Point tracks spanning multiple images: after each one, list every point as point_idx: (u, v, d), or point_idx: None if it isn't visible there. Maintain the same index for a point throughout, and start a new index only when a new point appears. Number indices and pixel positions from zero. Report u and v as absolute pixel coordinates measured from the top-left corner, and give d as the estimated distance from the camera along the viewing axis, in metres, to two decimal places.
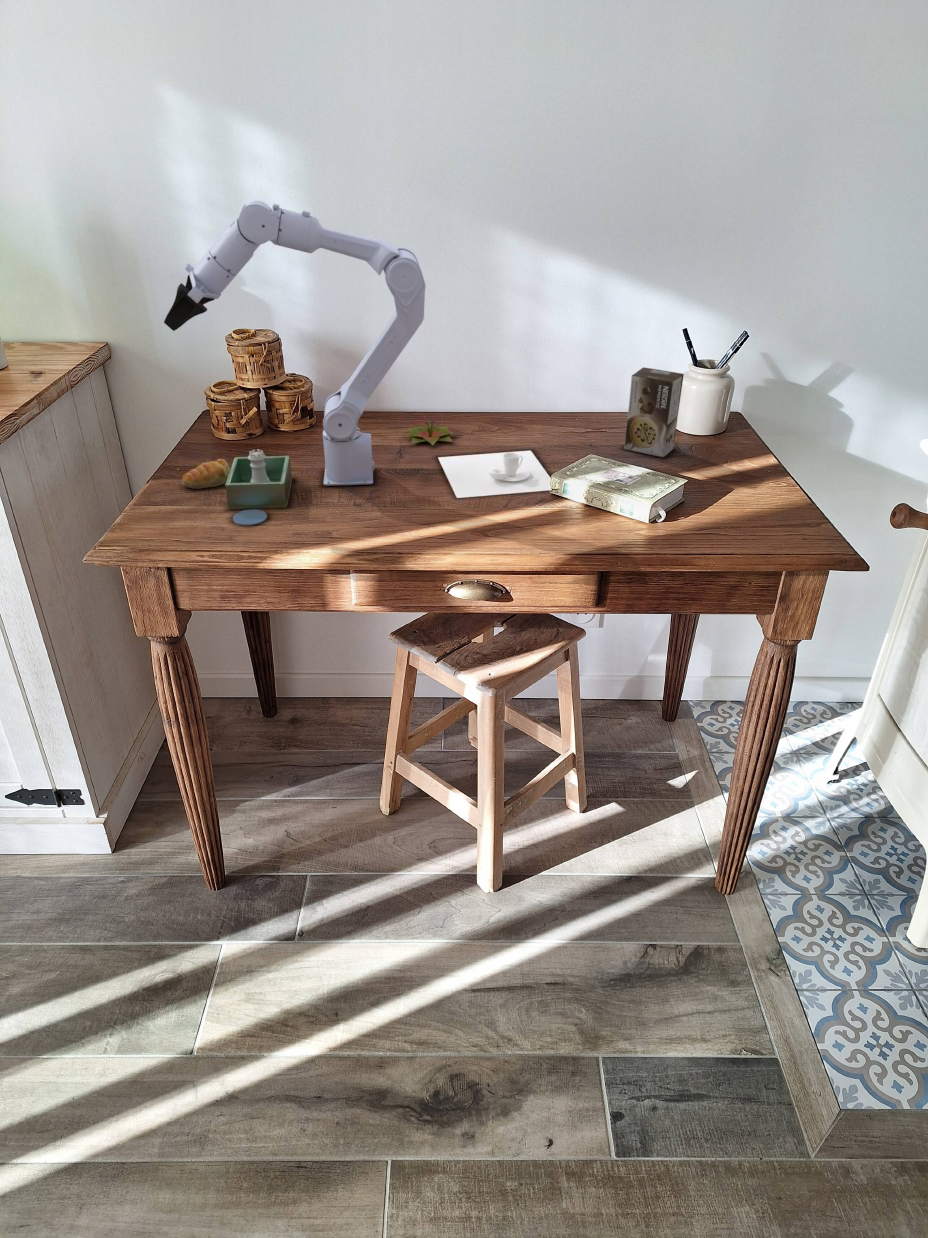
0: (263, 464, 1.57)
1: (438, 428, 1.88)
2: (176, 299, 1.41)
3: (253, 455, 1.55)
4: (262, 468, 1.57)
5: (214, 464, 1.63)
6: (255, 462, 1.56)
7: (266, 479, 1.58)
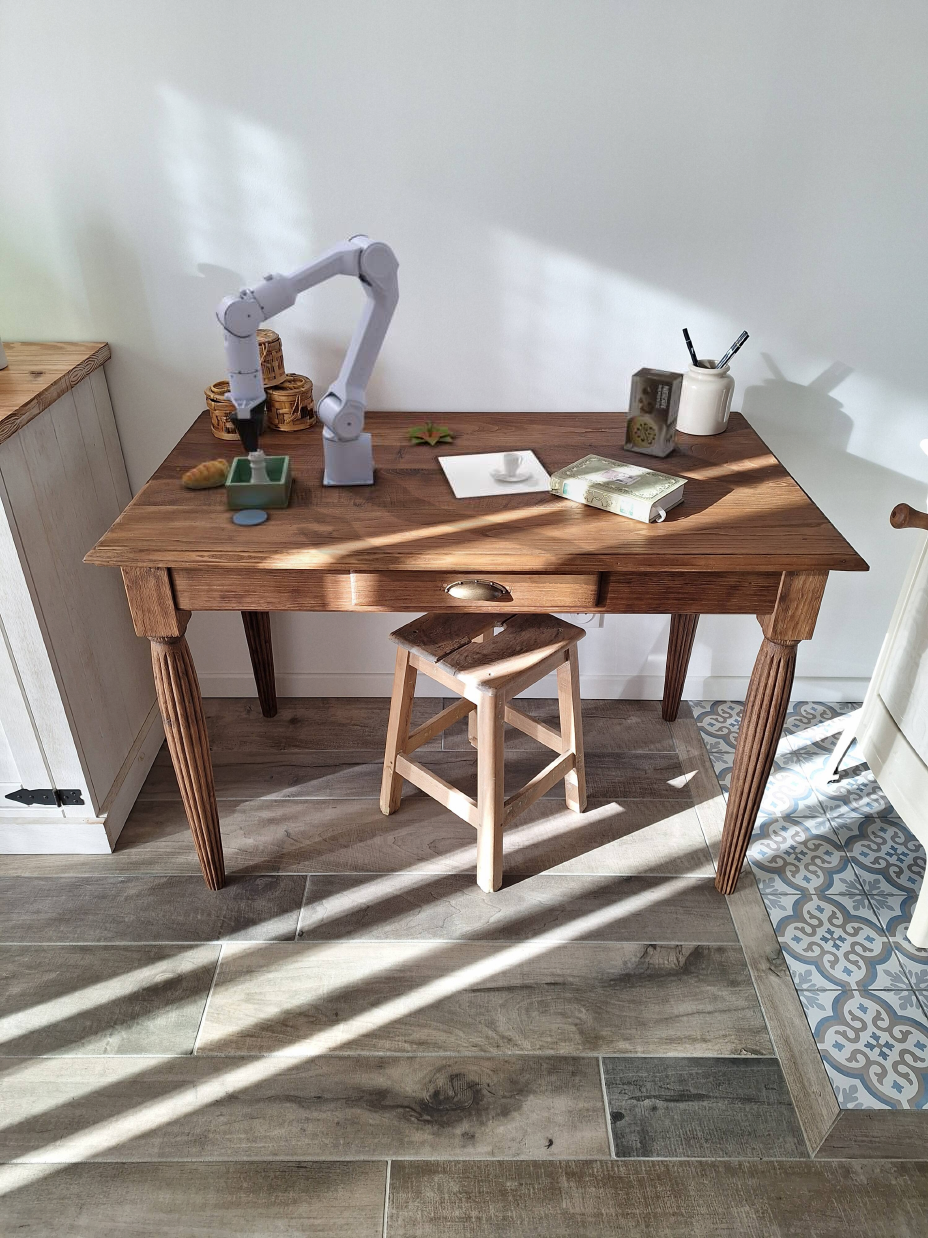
0: (263, 464, 1.57)
1: (438, 428, 1.88)
2: (236, 428, 1.48)
3: (253, 455, 1.55)
4: (262, 468, 1.57)
5: (214, 464, 1.63)
6: (255, 462, 1.56)
7: (266, 479, 1.58)
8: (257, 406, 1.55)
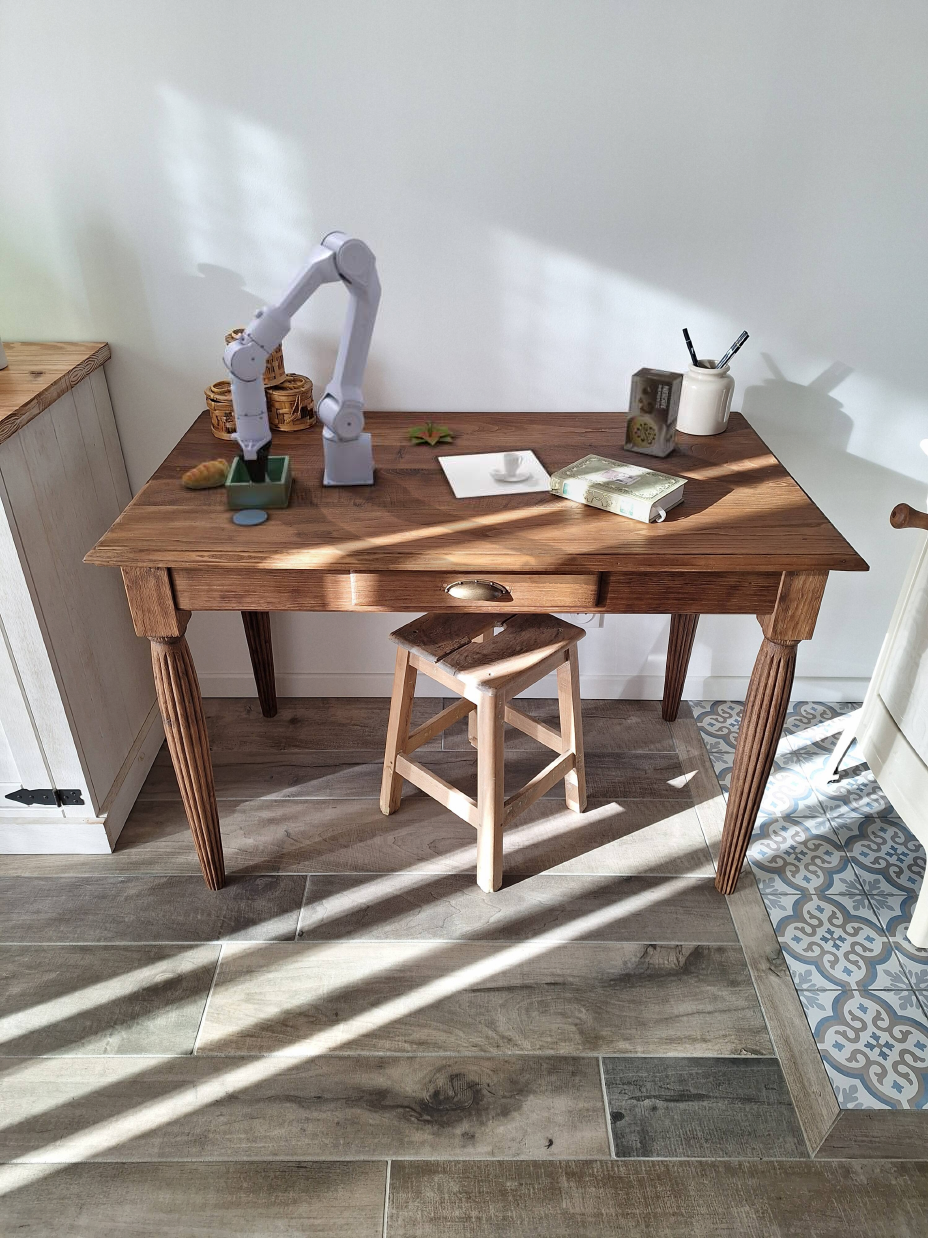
0: None
1: (438, 428, 1.88)
2: (244, 464, 1.53)
3: None
4: None
5: (214, 464, 1.63)
6: None
7: (266, 479, 1.58)
8: (262, 448, 1.58)
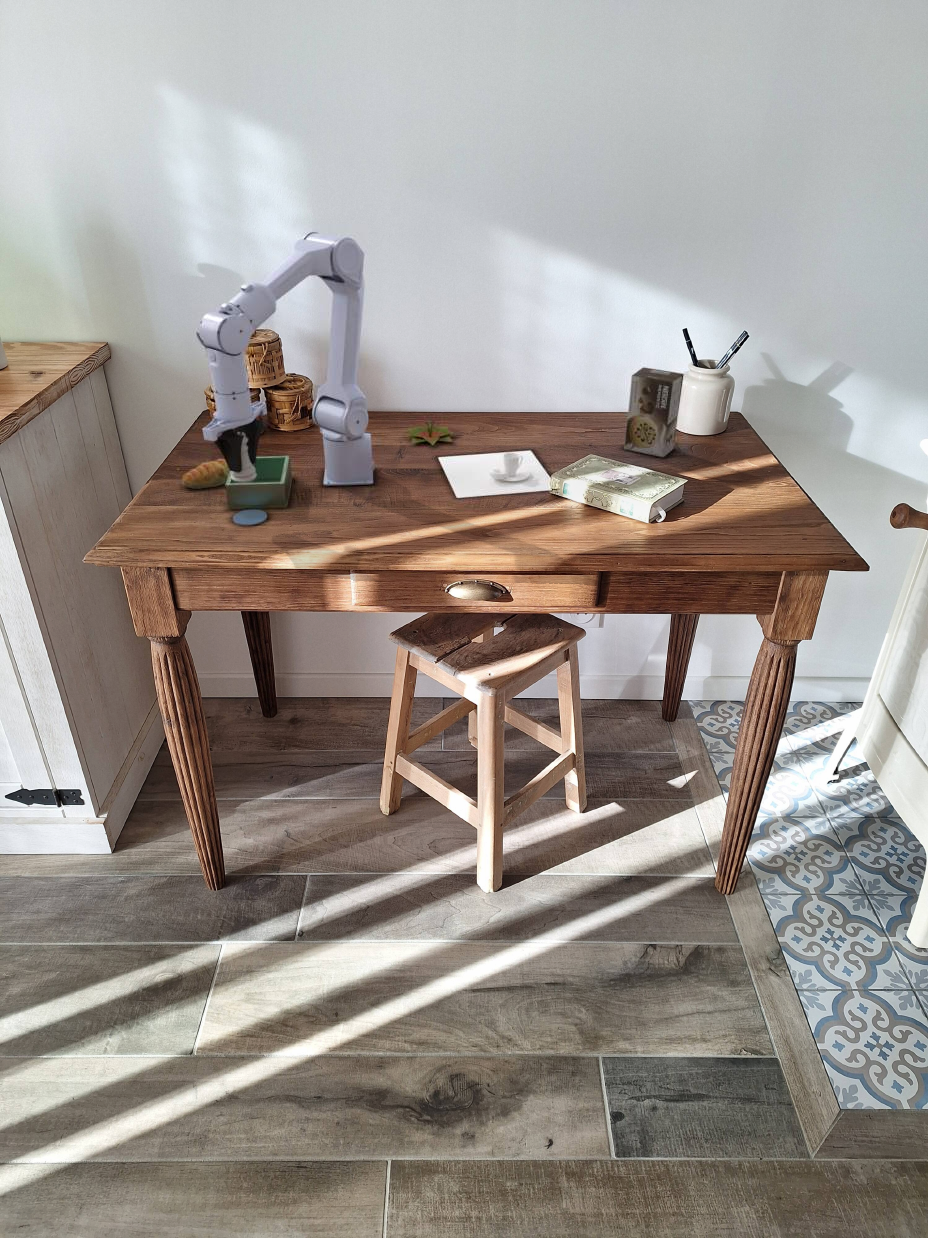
0: (243, 449, 1.44)
1: (438, 428, 1.88)
2: (217, 445, 1.42)
3: None
4: (241, 453, 1.44)
5: (214, 464, 1.63)
6: None
7: (245, 466, 1.45)
8: (249, 432, 1.45)
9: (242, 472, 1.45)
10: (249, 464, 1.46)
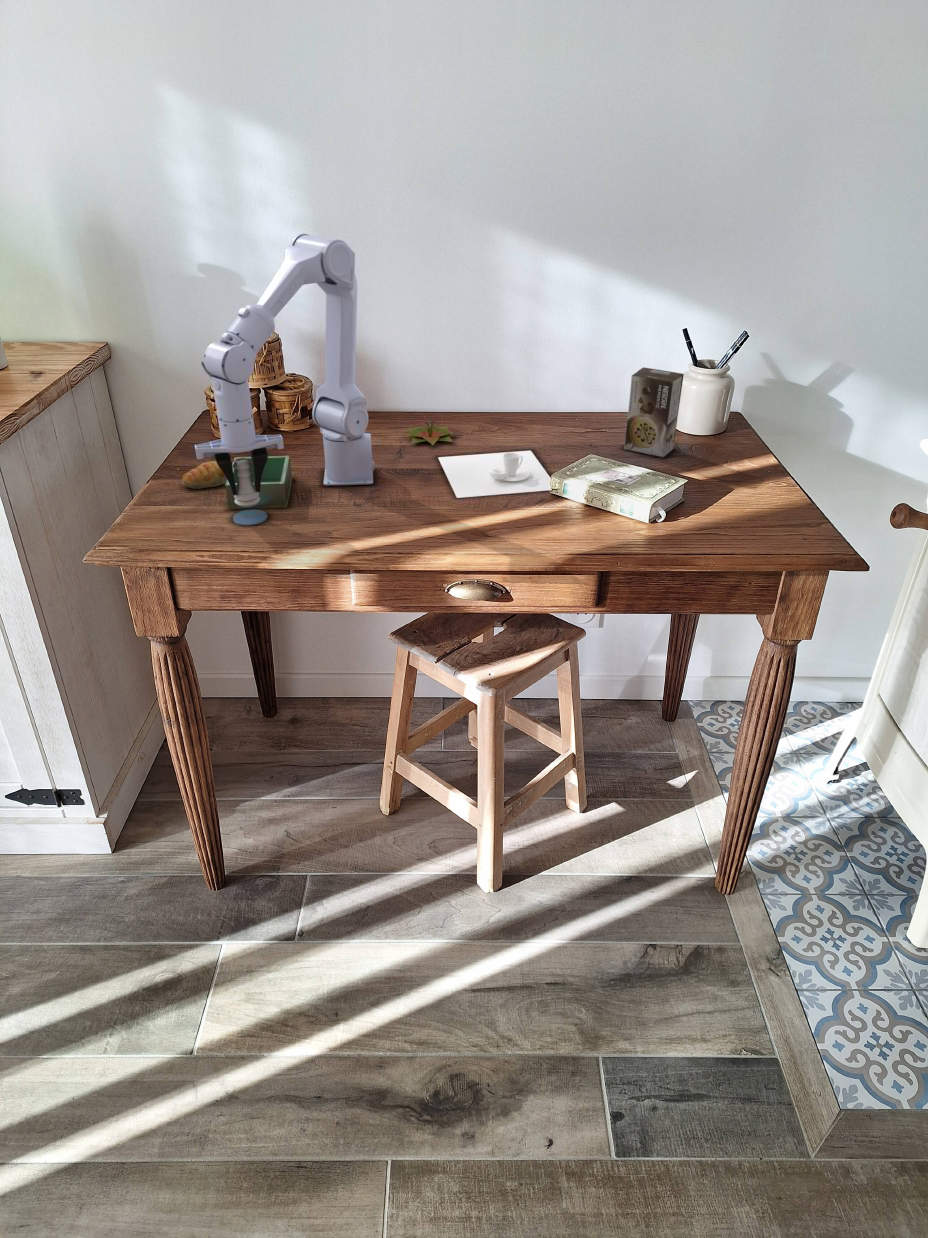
0: (241, 475, 1.46)
1: (438, 428, 1.88)
2: None
3: (234, 461, 1.46)
4: (239, 478, 1.47)
5: (214, 464, 1.63)
6: None
7: (242, 491, 1.48)
8: (253, 461, 1.46)
9: (238, 496, 1.48)
10: (247, 491, 1.48)
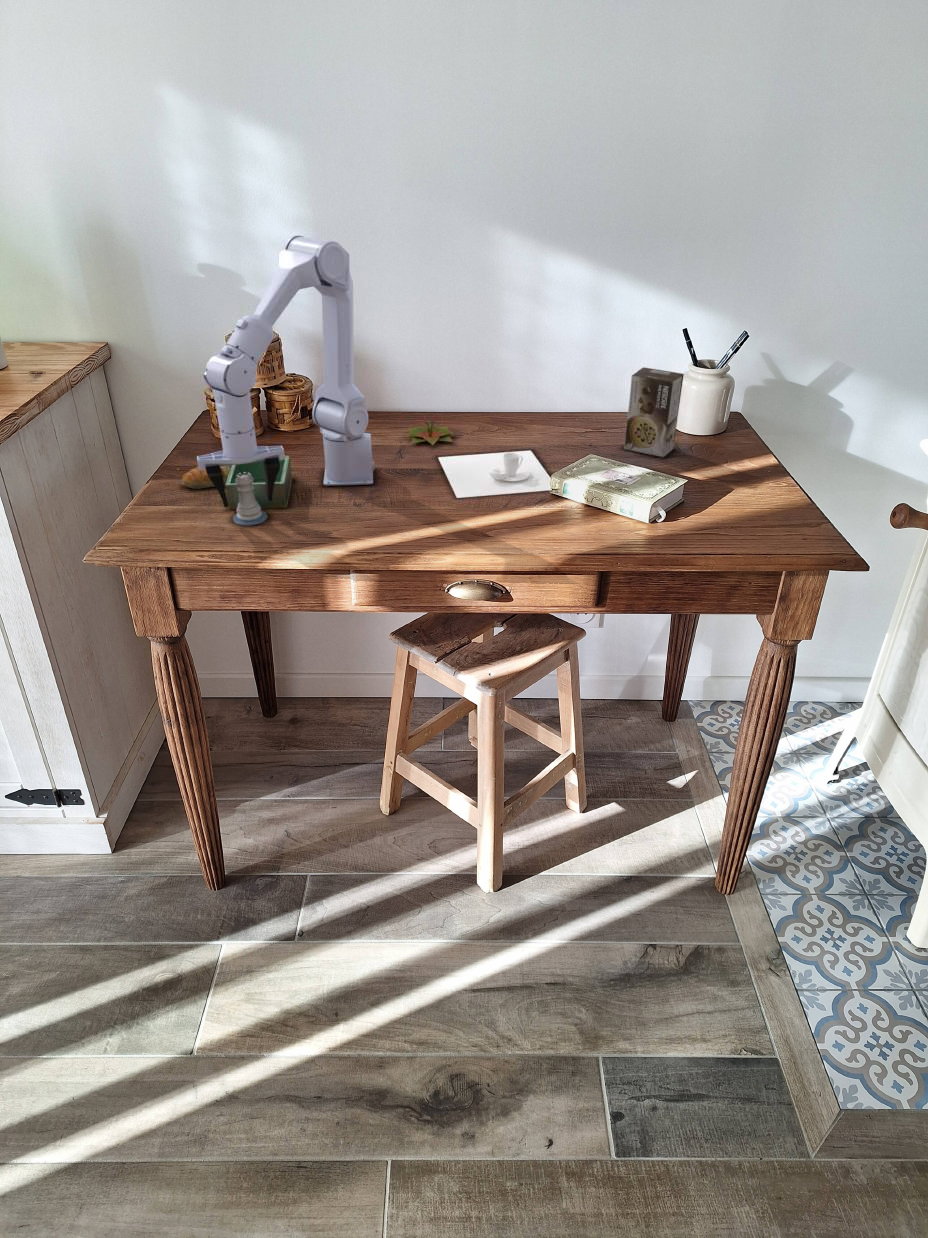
0: (243, 490, 1.48)
1: (438, 428, 1.88)
2: None
3: None
4: (242, 493, 1.48)
5: None
6: None
7: (244, 506, 1.49)
8: (265, 471, 1.48)
9: (240, 510, 1.50)
10: (249, 505, 1.49)
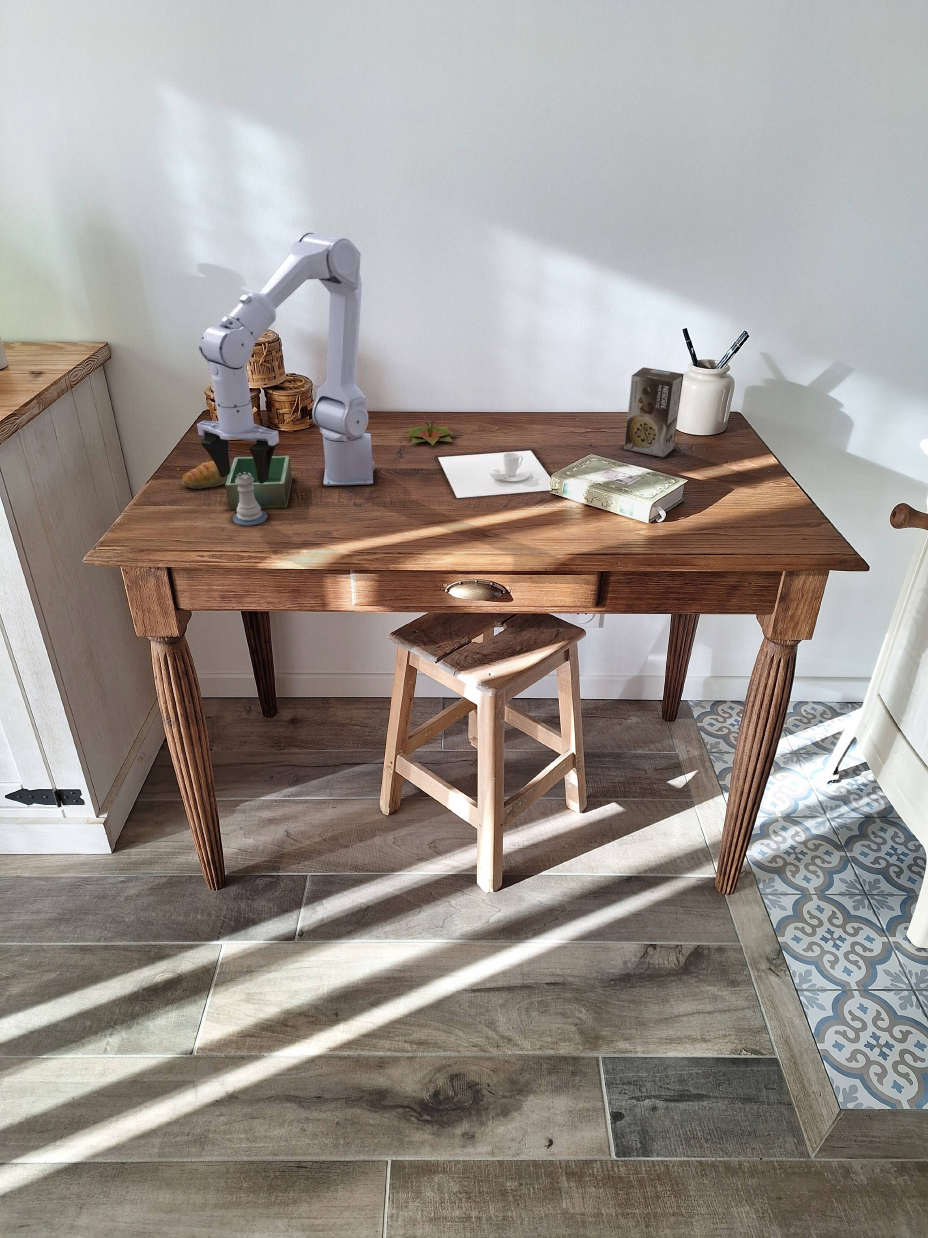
0: (243, 490, 1.48)
1: (438, 428, 1.88)
2: (263, 459, 1.42)
3: None
4: (242, 493, 1.48)
5: (214, 464, 1.63)
6: None
7: (244, 506, 1.49)
8: (224, 442, 1.47)
9: (240, 510, 1.50)
10: (249, 505, 1.49)
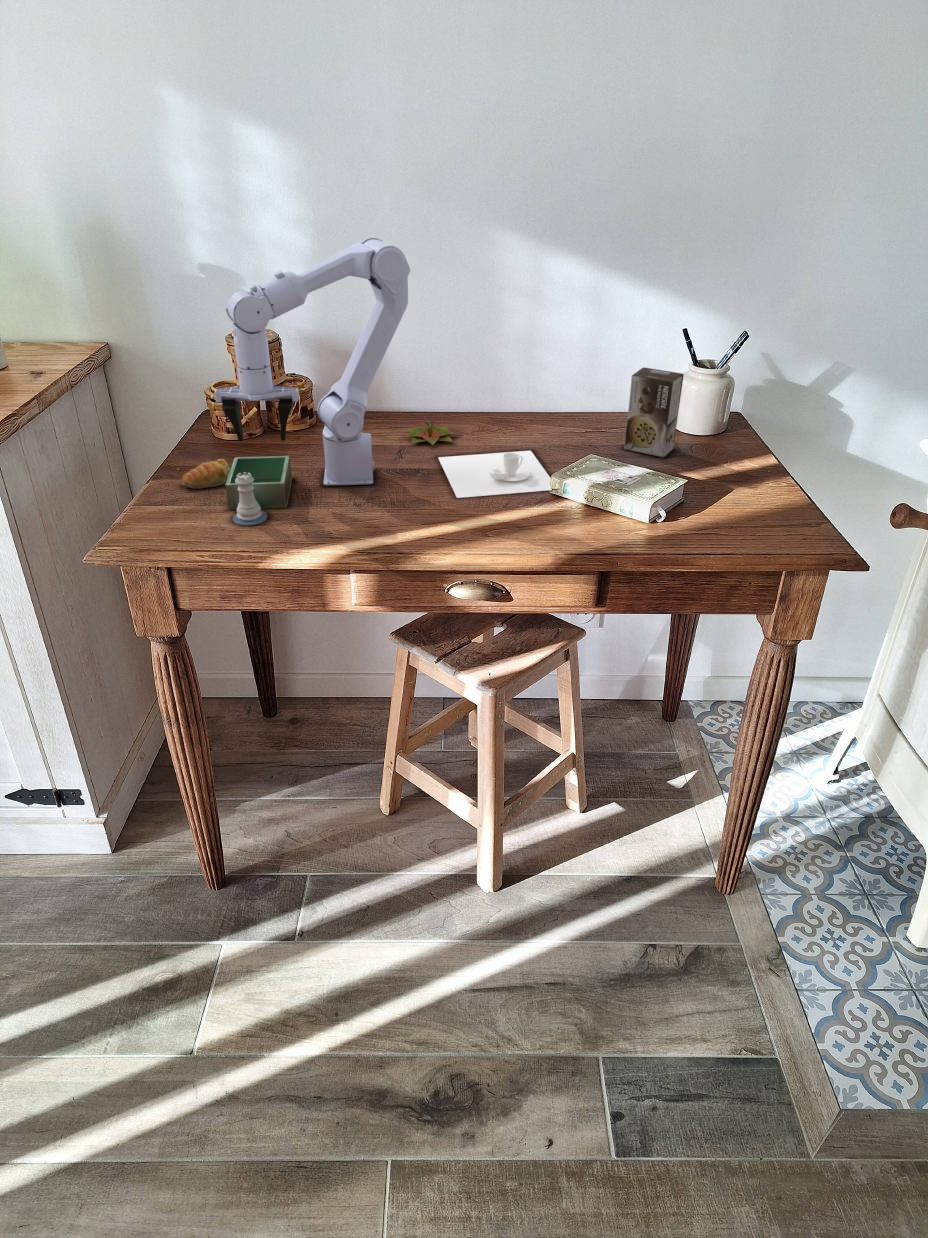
0: (243, 490, 1.48)
1: (438, 428, 1.88)
2: (288, 416, 1.52)
3: None
4: (242, 493, 1.48)
5: (214, 464, 1.63)
6: None
7: (244, 506, 1.49)
8: (238, 407, 1.53)
9: (240, 510, 1.50)
10: (249, 505, 1.49)
